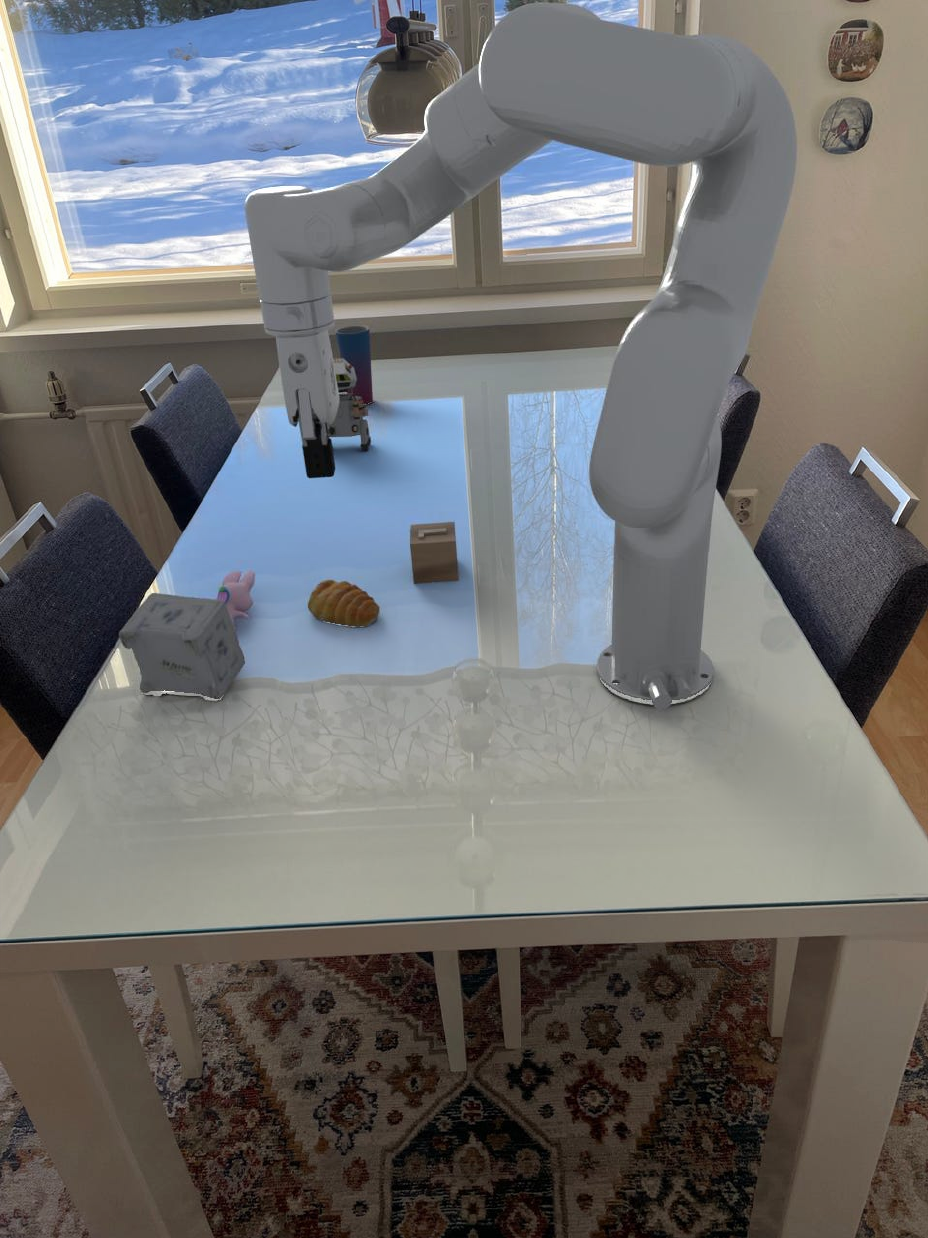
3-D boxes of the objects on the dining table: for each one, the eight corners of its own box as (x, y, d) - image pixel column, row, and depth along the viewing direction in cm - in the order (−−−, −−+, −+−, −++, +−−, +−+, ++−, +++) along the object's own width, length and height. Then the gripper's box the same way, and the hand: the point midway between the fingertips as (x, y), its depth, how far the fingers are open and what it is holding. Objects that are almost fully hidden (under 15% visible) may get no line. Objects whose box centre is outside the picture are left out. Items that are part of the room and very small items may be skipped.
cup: (339, 407, 193) (329, 333, 185) (352, 396, 199) (343, 324, 191) (370, 408, 191) (361, 333, 184) (382, 397, 197) (374, 325, 189)
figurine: (376, 433, 178) (367, 354, 170) (366, 455, 168) (356, 372, 160) (329, 434, 179) (318, 356, 171) (316, 456, 169) (304, 374, 161)
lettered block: (458, 581, 125) (455, 538, 122) (413, 584, 125) (409, 542, 122) (457, 560, 130) (454, 519, 127) (414, 563, 130) (410, 522, 127)
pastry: (393, 613, 119) (390, 587, 117) (358, 638, 115) (354, 611, 113) (338, 595, 124) (334, 570, 122) (303, 618, 120) (298, 592, 118)
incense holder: (136, 702, 105) (112, 623, 100) (176, 662, 112) (156, 586, 107) (213, 713, 102) (193, 632, 97) (249, 671, 109) (232, 593, 104)
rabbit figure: (244, 656, 115) (271, 580, 126) (233, 618, 111) (261, 544, 122) (195, 656, 115) (226, 581, 127) (182, 619, 112) (215, 545, 123)
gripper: (326, 328, 94) (348, 498, 103) (338, 296, 107) (357, 449, 116) (251, 333, 94) (281, 502, 103) (272, 301, 107) (297, 454, 116)
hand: (321, 474), depth 109 cm, fingers closed
